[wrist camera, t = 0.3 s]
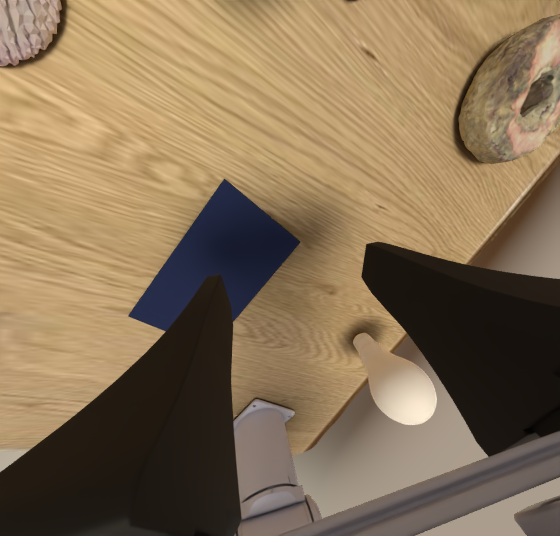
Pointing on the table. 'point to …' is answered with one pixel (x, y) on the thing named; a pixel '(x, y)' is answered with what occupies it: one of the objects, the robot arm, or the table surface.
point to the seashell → (26, 28)
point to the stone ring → (514, 95)
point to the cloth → (218, 258)
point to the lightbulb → (396, 383)
